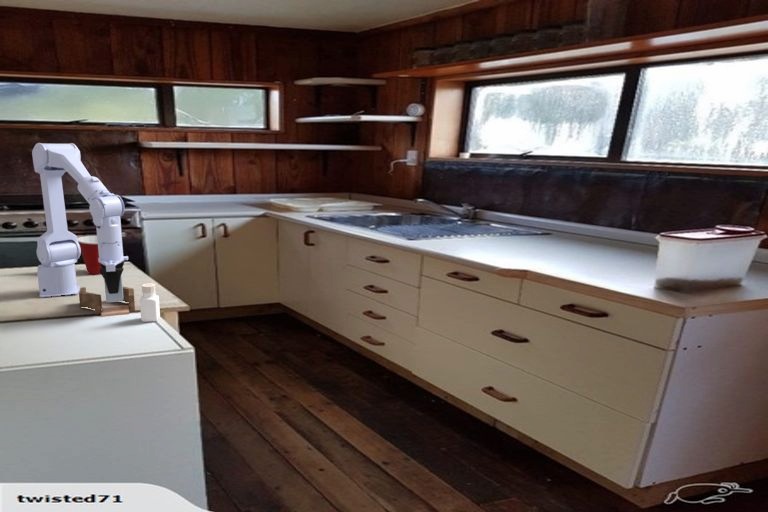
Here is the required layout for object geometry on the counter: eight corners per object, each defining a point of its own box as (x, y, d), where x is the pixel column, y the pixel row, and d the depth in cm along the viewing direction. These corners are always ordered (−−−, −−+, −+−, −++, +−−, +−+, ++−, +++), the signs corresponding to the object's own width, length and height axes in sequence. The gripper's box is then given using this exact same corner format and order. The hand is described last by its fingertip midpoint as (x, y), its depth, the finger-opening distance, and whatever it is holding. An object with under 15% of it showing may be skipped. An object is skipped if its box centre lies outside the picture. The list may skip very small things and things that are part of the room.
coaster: (101, 316, 135) (101, 314, 135) (102, 309, 140) (102, 307, 140) (129, 313, 138) (128, 311, 138) (129, 306, 143) (129, 304, 143)
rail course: (78, 316, 135) (76, 300, 134) (82, 302, 145) (80, 287, 144) (134, 310, 140) (133, 295, 139) (134, 298, 150) (133, 283, 149)
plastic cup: (109, 277, 170) (106, 241, 167) (74, 276, 169) (70, 241, 166) (121, 268, 181) (118, 235, 178) (88, 268, 179) (85, 234, 176)
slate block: (106, 302, 136) (103, 273, 135) (107, 298, 140) (104, 269, 138) (123, 301, 138) (120, 272, 136) (123, 296, 142) (121, 268, 140)
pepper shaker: (157, 322, 133) (155, 287, 131) (140, 322, 132) (138, 287, 130) (160, 316, 137) (158, 282, 135) (144, 317, 136) (142, 282, 134)
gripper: (126, 246, 131) (130, 297, 134) (127, 235, 143) (130, 282, 146) (94, 248, 128) (99, 299, 131) (98, 236, 140) (102, 284, 143)
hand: (114, 290), depth 138 cm, fingers closed on slate block, 4 cm apart
